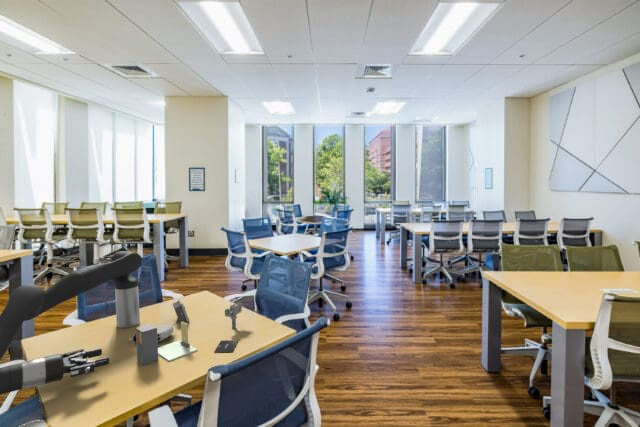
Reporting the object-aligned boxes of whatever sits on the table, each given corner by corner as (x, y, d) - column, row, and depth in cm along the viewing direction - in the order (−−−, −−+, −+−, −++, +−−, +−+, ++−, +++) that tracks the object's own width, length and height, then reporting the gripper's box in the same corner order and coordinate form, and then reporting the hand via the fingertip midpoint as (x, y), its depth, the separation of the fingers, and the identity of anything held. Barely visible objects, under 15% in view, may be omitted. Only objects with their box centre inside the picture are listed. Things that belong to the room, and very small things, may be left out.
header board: (152, 350, 132) (151, 326, 131) (180, 341, 140) (179, 317, 139) (168, 361, 123) (167, 335, 123) (197, 350, 132) (196, 326, 131)
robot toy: (127, 347, 137) (165, 344, 137) (126, 336, 137) (163, 333, 136) (143, 334, 149) (178, 332, 149) (142, 324, 149) (177, 321, 148)
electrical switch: (189, 322, 160) (186, 302, 159) (177, 325, 158) (174, 305, 157) (186, 316, 168) (183, 297, 167) (174, 319, 166) (171, 300, 165)
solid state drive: (213, 353, 130) (213, 352, 130) (221, 342, 140) (220, 340, 140) (232, 353, 130) (232, 351, 130) (238, 341, 140) (238, 340, 140)
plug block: (136, 361, 124) (135, 328, 123) (151, 355, 128) (150, 323, 127) (143, 366, 120) (141, 332, 120) (158, 360, 124) (157, 327, 123)
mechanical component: (223, 332, 148) (223, 309, 148) (238, 323, 158) (237, 301, 157) (229, 333, 147) (229, 310, 147) (243, 324, 157) (243, 302, 156)
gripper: (46, 367, 97) (112, 351, 109) (38, 350, 107) (99, 338, 119) (45, 393, 97) (111, 375, 109) (37, 374, 107) (98, 359, 119)
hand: (105, 355), depth 114 cm, fingers open, 8 cm apart
